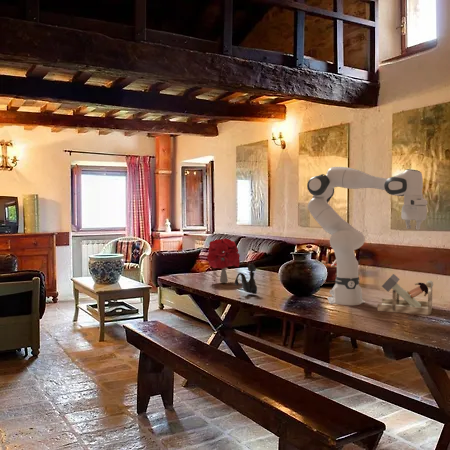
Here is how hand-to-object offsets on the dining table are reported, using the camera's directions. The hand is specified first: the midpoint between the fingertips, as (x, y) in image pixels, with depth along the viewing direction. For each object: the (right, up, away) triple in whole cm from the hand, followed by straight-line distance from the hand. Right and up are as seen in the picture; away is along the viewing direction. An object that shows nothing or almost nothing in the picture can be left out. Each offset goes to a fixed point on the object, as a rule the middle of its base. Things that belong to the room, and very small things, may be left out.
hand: (413, 229), depth 246 cm
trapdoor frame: (-6, -39, -5) cm, 40 cm away
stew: (-26, -37, +78) cm, 90 cm away
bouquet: (-95, -37, +88) cm, 135 cm away
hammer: (-9, -34, -4) cm, 35 cm away
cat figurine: (-83, -39, +42) cm, 100 cm away
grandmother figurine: (-3, -33, -4) cm, 34 cm away
